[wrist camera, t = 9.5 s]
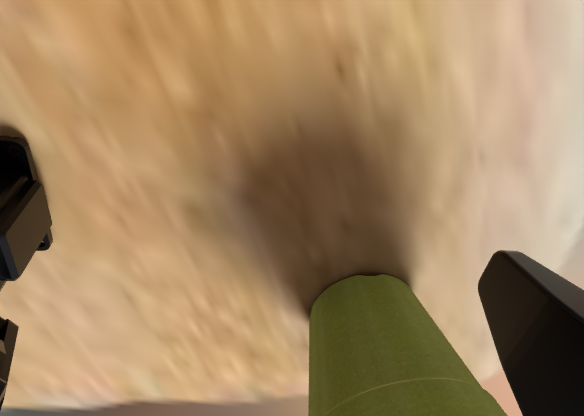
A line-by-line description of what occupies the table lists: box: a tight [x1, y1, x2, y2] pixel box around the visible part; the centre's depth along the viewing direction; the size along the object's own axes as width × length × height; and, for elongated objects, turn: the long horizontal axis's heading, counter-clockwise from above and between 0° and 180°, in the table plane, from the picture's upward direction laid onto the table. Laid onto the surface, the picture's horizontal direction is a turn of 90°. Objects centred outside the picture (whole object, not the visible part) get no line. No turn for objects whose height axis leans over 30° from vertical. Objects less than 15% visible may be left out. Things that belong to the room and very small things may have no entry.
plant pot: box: [309, 274, 507, 416], centre depth 24 cm, size 12×12×11 cm
